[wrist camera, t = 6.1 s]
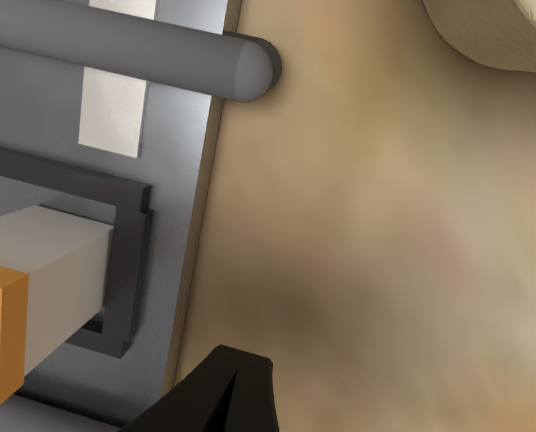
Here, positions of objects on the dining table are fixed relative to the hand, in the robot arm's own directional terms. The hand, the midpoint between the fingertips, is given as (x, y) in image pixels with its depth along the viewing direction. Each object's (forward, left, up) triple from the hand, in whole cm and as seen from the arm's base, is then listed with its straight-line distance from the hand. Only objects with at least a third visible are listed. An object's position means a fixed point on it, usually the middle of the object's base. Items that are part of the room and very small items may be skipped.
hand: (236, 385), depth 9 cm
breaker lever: (0, +7, -4) cm, 8 cm away
